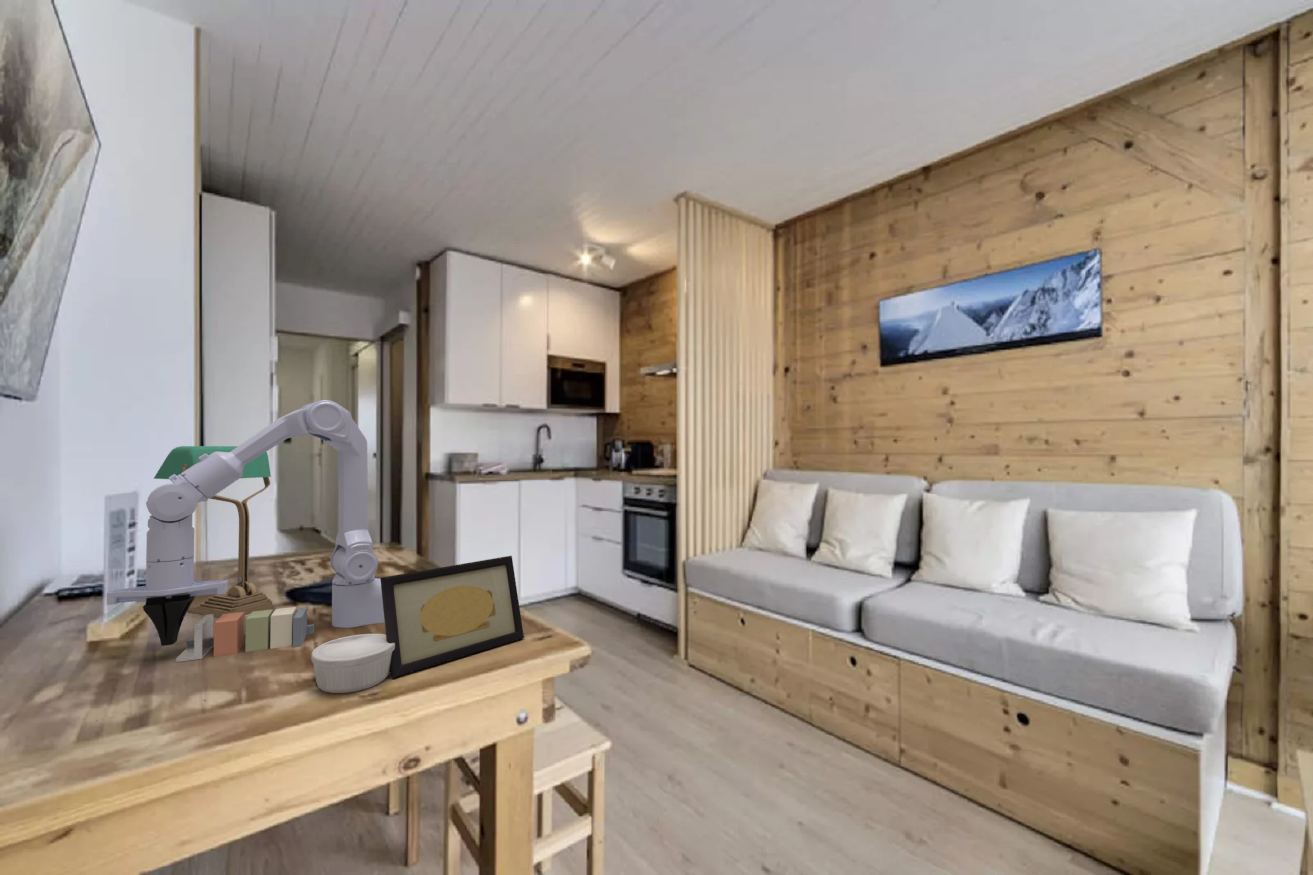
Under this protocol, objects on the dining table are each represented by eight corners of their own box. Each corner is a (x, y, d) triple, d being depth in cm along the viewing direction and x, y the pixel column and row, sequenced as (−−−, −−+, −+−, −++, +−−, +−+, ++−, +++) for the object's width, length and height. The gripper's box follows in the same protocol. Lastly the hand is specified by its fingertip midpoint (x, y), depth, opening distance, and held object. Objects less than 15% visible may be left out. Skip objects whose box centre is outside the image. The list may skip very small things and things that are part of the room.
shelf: (314, 638, 98) (314, 605, 98) (307, 653, 91) (307, 617, 91) (188, 654, 90) (188, 618, 90) (169, 672, 83) (170, 633, 83)
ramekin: (377, 659, 89) (377, 627, 89) (409, 678, 81) (409, 643, 82) (299, 682, 80) (299, 647, 80) (327, 706, 73) (328, 667, 73)
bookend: (212, 646, 91) (213, 614, 91) (201, 658, 86) (202, 624, 86) (188, 649, 89) (189, 616, 89) (176, 662, 84) (176, 627, 84)
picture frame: (393, 679, 81) (390, 578, 82) (371, 669, 87) (368, 575, 88) (524, 639, 98) (520, 556, 99) (498, 633, 104) (494, 554, 105)
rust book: (244, 643, 92) (244, 611, 92) (236, 653, 88) (237, 620, 88) (222, 646, 91) (222, 614, 91) (213, 657, 86) (214, 622, 87)
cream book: (296, 637, 95) (296, 606, 95) (291, 646, 91) (292, 613, 91) (275, 640, 94) (276, 609, 94) (270, 649, 90) (270, 616, 90)
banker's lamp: (208, 625, 105) (211, 446, 105) (145, 612, 112) (148, 445, 113) (288, 603, 119) (291, 446, 120) (228, 593, 127) (231, 446, 127)
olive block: (272, 640, 94) (273, 609, 94) (267, 649, 90) (267, 616, 90) (251, 643, 92) (252, 611, 93) (245, 652, 88) (245, 619, 89)
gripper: (233, 550, 93) (232, 629, 93) (122, 557, 87) (120, 642, 86) (221, 558, 87) (220, 642, 86) (100, 566, 80) (98, 657, 80)
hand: (169, 643), depth 86 cm, fingers closed
